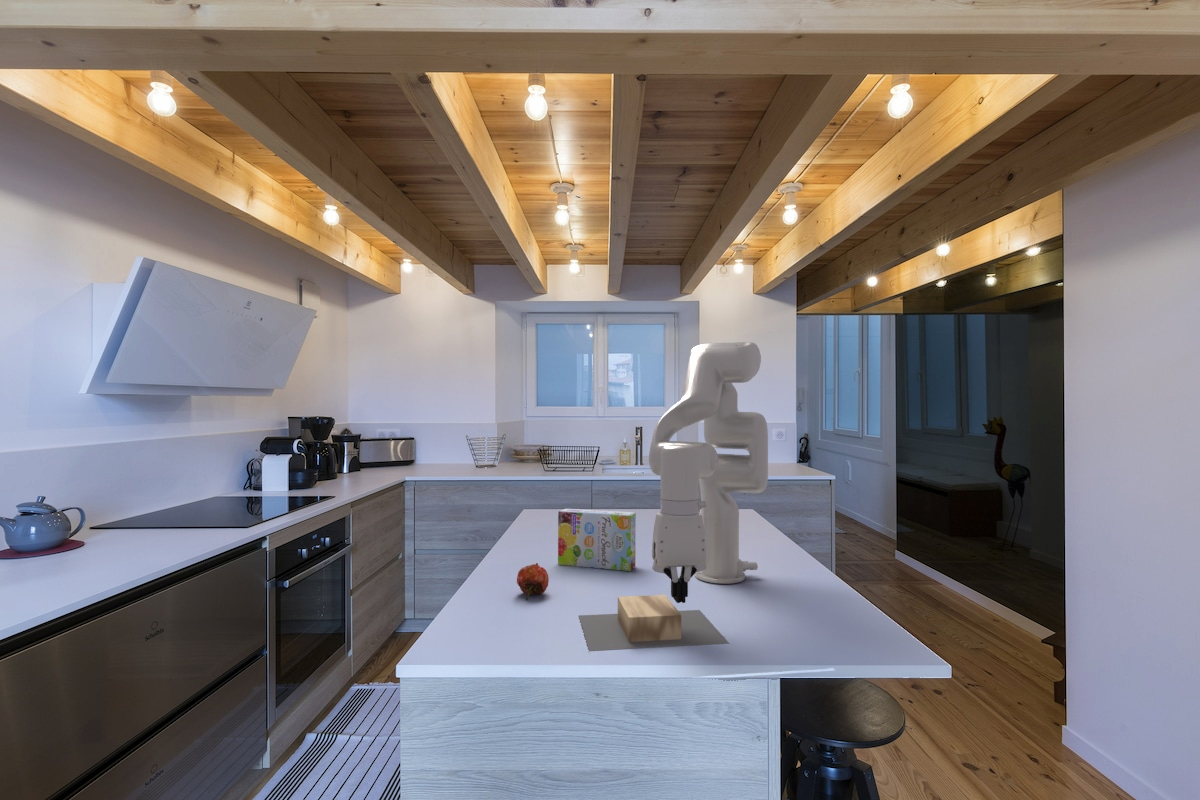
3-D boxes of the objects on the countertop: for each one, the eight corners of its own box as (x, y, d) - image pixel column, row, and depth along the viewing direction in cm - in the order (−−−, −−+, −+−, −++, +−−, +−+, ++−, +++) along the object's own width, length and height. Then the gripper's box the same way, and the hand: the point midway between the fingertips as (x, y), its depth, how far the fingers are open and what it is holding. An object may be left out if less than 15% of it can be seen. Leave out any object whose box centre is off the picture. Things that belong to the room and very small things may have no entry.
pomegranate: (545, 609, 135) (559, 573, 143) (534, 589, 131) (548, 553, 139) (517, 608, 138) (531, 573, 145) (505, 589, 134) (520, 553, 142)
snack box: (636, 567, 163) (636, 511, 163) (630, 572, 157) (630, 515, 158) (564, 560, 170) (564, 507, 170) (556, 565, 164) (557, 510, 165)
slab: (665, 594, 123) (617, 596, 122) (681, 615, 111) (628, 617, 110) (665, 616, 123) (617, 618, 122) (681, 639, 111) (628, 641, 110)
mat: (699, 611, 127) (699, 609, 127) (729, 645, 110) (729, 643, 110) (578, 617, 124) (578, 615, 124) (589, 653, 106) (589, 650, 106)
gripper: (709, 503, 122) (709, 593, 122) (638, 505, 120) (638, 596, 120) (722, 510, 115) (722, 605, 115) (646, 511, 113) (646, 608, 113)
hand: (679, 600), depth 117 cm, fingers closed
